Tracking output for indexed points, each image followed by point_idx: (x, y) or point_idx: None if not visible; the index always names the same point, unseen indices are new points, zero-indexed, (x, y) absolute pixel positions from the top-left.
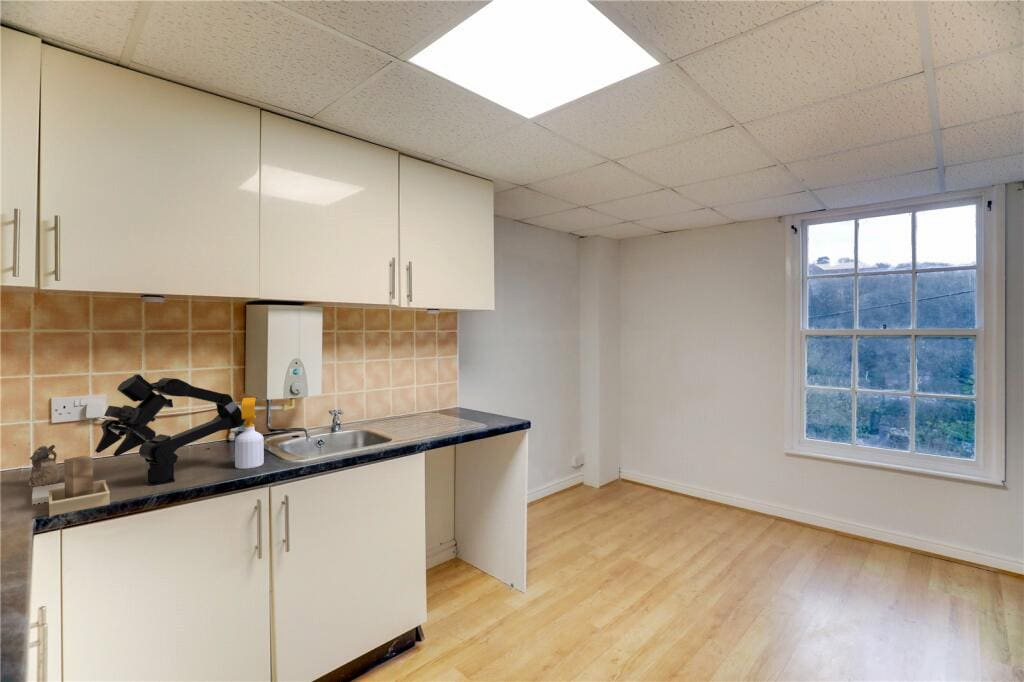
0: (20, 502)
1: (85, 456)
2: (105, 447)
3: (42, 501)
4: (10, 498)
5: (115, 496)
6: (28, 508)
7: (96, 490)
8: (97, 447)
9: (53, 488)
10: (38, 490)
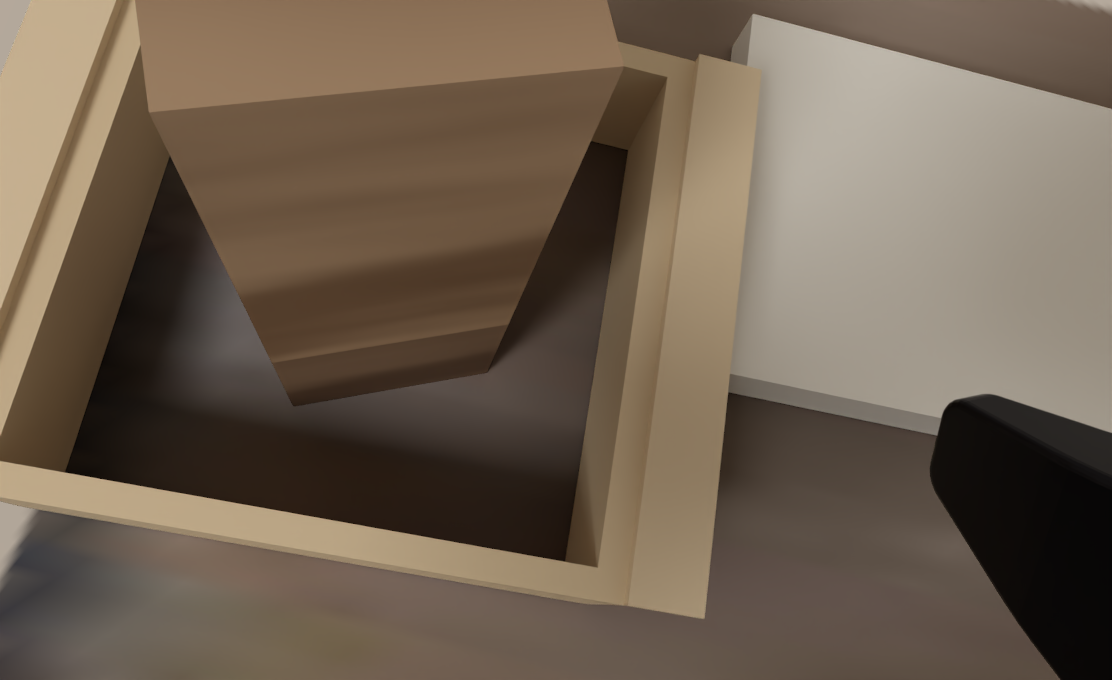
0: (901, 22)
1: (479, 54)
2: (1087, 670)
3: None
4: (1092, 16)
5: (334, 651)
6: (642, 4)
7: (588, 499)
8: (1074, 437)
9: (751, 105)
10: (1064, 135)
